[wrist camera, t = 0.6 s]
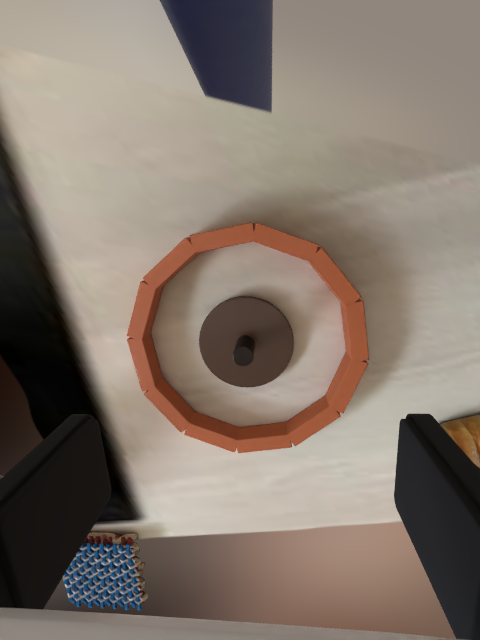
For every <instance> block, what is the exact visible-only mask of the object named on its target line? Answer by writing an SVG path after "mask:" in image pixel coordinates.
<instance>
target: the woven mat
mask: <svg viewBox="0 0 480 640" xmlns="http://www.w3.org/2000/svg"><path fill="white" fill-rule="evenodd" d="M136 538H137V534H124V535H123V536H121V535H117V534H116V535H115V534H113V533H102V532H91V533H89V534H88V536H87V537H86V539H85V541H84V542H83V544H82V546H81V547H80V549H79V551H78V552H77V554H76V556H75V557H74V559H73V561H72V562H71V564H70V566H69V567H68V569H67V570H66V572H65V574H64V575H65V576H64V575H63V578H64V583H65V586H66V588H67V593H69V594H68V597H69V601H70V602H72V603H73V604H75V603H76V601H77V607H80V606H81V604H80V599H81V602H84V604H85V605H87V604H88V602H89V605H88V606H89V607H90V608H92V605H93V604H92V602H94V603H96V605H99V604H100V602H101V608H104V607H105V605H104V601H105V603H107V604H108V606H111V605H112V603H113V609H116V608H117V605H116V602H118V604H120V606H121V607H123V606H124V603H125V609H126V610H128V609H129V606H128V604H130V605H132V606H133V607H136V604H138V610H141V603H144V601H145V600H146V599H147V598H148V595H147V593H146V592H145V593H144V591H142V589H144V588H145V587H146V582H145V581H144V578H142V577H140V576H141V575H142V570H138V569H143V568H144V565H145V563H143V562H141V559H140V558H138V557H137V556H135V555H138V553H139V550H140V549H139V547H138V545H137V543H135V542H133V541H132V540H136ZM94 539H96V540H94ZM107 540H108V541H107ZM76 560H77V561H76ZM71 587H72V588H71ZM97 599H98V600H97Z"/></svg>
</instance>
